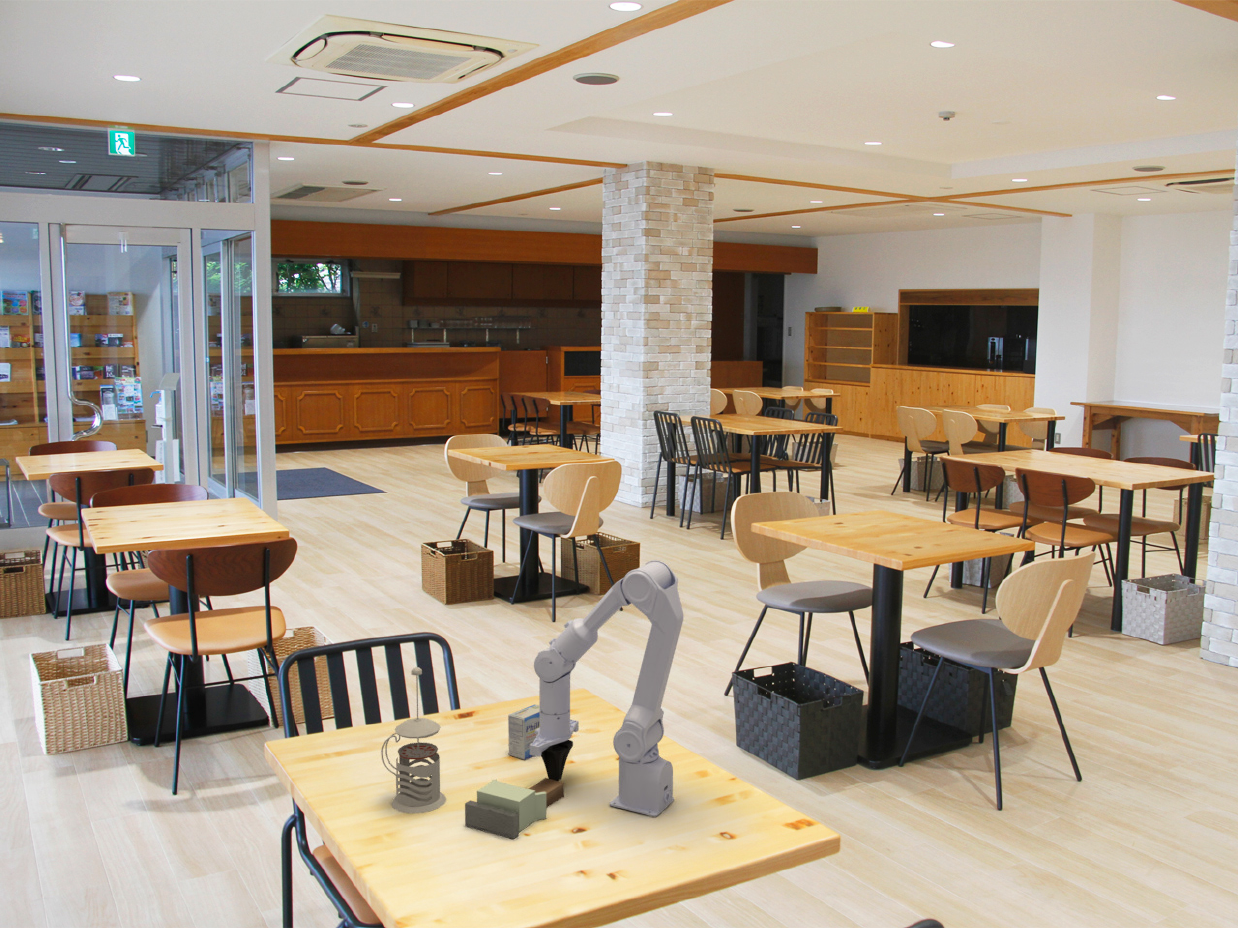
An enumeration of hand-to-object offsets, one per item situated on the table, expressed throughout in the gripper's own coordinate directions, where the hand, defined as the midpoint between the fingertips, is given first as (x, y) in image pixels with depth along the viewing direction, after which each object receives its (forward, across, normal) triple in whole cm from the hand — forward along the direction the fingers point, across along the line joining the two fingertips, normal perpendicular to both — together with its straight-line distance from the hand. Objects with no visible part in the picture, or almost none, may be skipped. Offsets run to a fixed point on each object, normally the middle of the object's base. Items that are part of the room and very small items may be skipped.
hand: (554, 779), depth 194 cm
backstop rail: (+1, +20, 0) cm, 21 cm away
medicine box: (+2, -11, -13) cm, 17 cm away
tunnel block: (+1, +15, 0) cm, 15 cm away
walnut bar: (+2, +10, +1) cm, 10 cm away
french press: (+1, +18, -19) cm, 26 cm away
